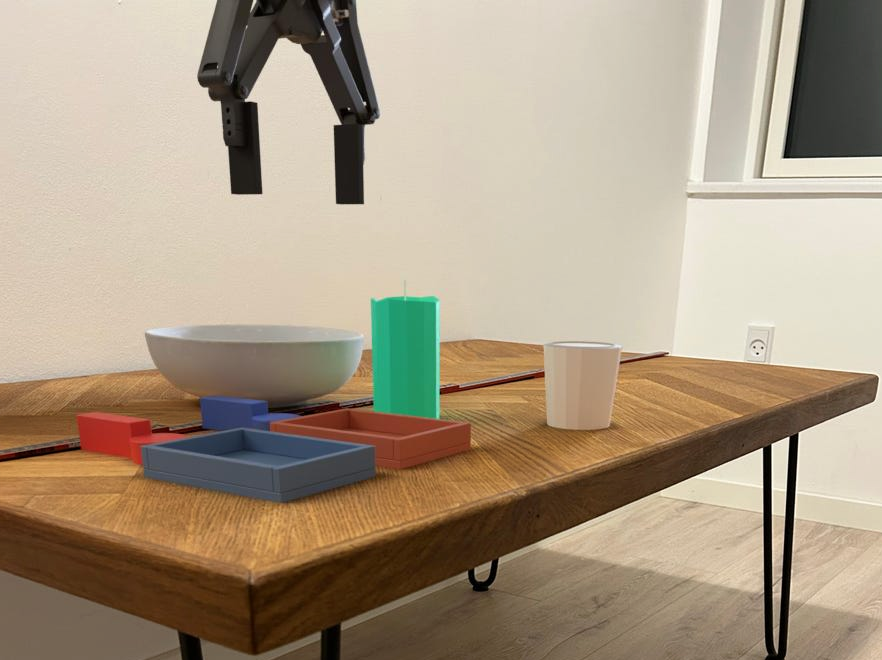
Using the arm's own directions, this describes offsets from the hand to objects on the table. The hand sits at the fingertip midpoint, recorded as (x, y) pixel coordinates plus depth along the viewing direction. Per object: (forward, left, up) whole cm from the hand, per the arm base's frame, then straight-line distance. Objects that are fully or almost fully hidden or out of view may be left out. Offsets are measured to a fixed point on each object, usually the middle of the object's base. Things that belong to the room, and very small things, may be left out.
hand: (301, 200), depth 82 cm
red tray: (+16, -11, -18) cm, 27 cm away
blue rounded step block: (+3, -11, -18) cm, 22 cm away
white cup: (+23, +9, -19) cm, 31 cm away
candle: (+9, +2, -19) cm, 21 cm away
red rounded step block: (+3, -23, -18) cm, 30 cm away
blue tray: (+16, -23, -18) cm, 33 cm away
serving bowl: (-9, +2, -19) cm, 21 cm away
